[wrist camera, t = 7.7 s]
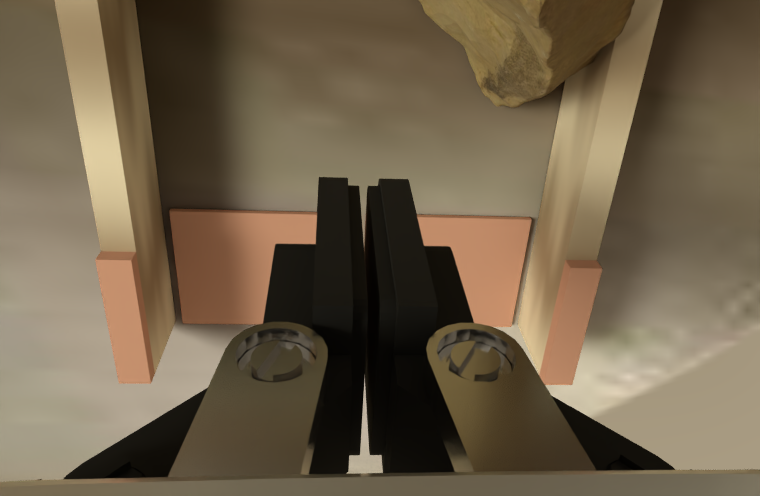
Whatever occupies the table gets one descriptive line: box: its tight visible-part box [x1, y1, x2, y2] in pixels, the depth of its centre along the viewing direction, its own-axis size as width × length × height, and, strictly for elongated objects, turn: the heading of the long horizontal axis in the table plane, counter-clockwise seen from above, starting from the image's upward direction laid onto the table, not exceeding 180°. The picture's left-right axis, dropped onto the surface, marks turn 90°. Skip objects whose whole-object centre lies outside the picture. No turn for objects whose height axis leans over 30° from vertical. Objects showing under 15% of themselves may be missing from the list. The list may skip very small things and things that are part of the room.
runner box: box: [55, 0, 663, 374], centre depth 17 cm, size 22×15×4 cm
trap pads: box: [95, 209, 602, 385], centre depth 21 cm, size 5×15×4 cm, turn 87°
